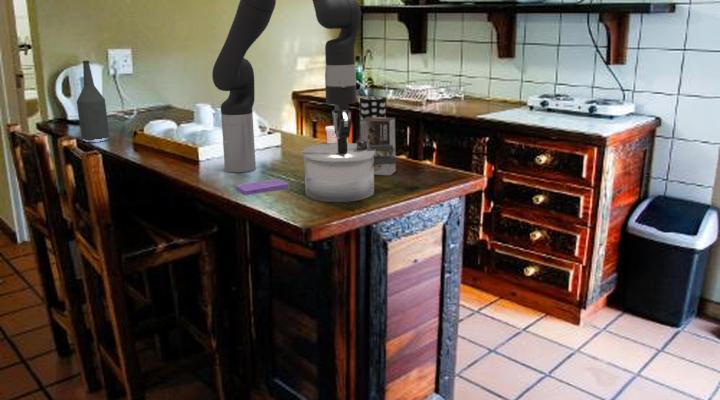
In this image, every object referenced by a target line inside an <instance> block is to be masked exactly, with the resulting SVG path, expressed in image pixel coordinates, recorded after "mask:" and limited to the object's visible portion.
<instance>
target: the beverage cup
mask: <svg viewBox="0 0 720 400" xmlns="http://www.w3.org/2000/svg"><path fill="white" fill-rule="evenodd" d="M325 131H326V140H327V142H326V143H337V139H338V138H337V137H336V134H335V128H334V125H327V126H325Z"/></svg>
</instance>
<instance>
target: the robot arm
mask: <svg viewBox="0 0 720 400" xmlns="http://www.w3.org/2000/svg"><path fill="white" fill-rule="evenodd" d="M276 2H277V0H240V1H239V2H238V5H237V9H236V13H235V16H234V18H233V20H232V22H231V23H232V24H231V26H230V29H229V31H228V33H227V36H226V39H225V41H224V43H223V46H222V48H221V49H220V52H219V54H218V56H217V58H216V60H215V63H214V66H213V68H212V73H211V74H212V75H211V76H212V82H213V84H214V86H215V88H217V90H219V91H223V92H229V95H228V97H227V98H226V99H225V100H224V101H223V102H222V103H221V104H220V116H221V117H220V118H221V130H222V131H221V132H222V145H223V147H222V148H223V160H224V162H223V163H224V172H225V173H248V172H252V171H255V170H256V169H257V164H256V149H255V135H254V134H255V132H254V130H255V129H254V117H253V116H254V115H253V106H254V104H255V73H254V68H253V66H252V64H251V62H250V61H249V60H248V59H247V58H245V56H246V54H247V52H248V50H249V49H250V47H252V45H253V44H254V43H255V42H256V41H257V39H258V38H259V37H260V36H261V35H262V34H263V32H265V30H266V29H267V27H268V25H269V23H270V21H271V18H272V15H273V14H274V10H275V8H276ZM312 4H313V7H314V11H315V17H316V20H317V22H318V24H319V25H321V27H323V28H325V29H326V30H327V29H328V30H332V29H333V30H338V29H339V30H340V32H339V34H338V37H336V38H332V39H329V40H327V41H326V43H325V47H324V50H325V54H324V55H325V56H324V57H325V71H324V72H325V73H324V81H325V83H324V85H325V102H326V104H328V105H334V110H332V112H331V113H332V115H331V116H332V120H333V126H334V128H335V134H336V137H337V138H338V139H337V143H338V153H339V154H346V153H347V143H348V138H350V133H351V128H352V127H351V126H352V118H351V117H352V116H351V114H352V112H351V111H350V110H349V105H350V104H351V105H353V104H355V103H357V73H356V66H355V65H356V64H355V46H356V41H357V36H358V32H359V29H360V23H361V21H362V19H361V16H362V12H361V8H360V7H361V6H360V4H359V3H358V1H357V0H312Z"/></svg>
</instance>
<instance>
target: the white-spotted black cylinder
mask: <svg viewBox="0 0 720 400" xmlns="http://www.w3.org/2000/svg"><path fill="white" fill-rule="evenodd" d="M366 117H387V97H385V96H362V97H359V122H360V121H361V120H362V119H364V118H366ZM359 140H361V125H360V124H359Z"/></svg>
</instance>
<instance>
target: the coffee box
mask: <svg viewBox="0 0 720 400" xmlns="http://www.w3.org/2000/svg"><path fill="white" fill-rule="evenodd" d="M360 125H361V140H365V141H367V145H385V144H391V145H392V146H393V150H392V151H376V156H375V157H381V156H395V157H396V156H397V155H396V117H387V116H386V117H366V118H364V119H362V120H361V121H360V120H359V126H360ZM396 158H397V157H396ZM396 165H397V163H396V164H381V165H374V176H375V175H377V176H391V175H393V174H394V173H395V172H396V169H397V168H396Z"/></svg>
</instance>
